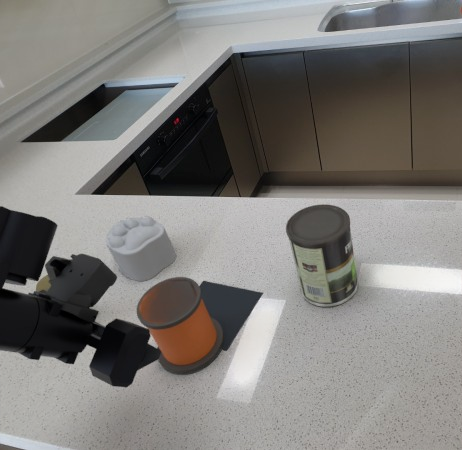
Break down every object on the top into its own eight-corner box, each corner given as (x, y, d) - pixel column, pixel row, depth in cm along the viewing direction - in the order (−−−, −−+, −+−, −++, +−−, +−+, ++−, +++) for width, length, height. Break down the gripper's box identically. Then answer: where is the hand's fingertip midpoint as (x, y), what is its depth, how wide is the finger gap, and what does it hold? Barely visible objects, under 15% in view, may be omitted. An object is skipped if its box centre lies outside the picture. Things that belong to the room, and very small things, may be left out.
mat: (226, 350, 74) (226, 350, 74) (162, 333, 79) (162, 333, 79) (262, 293, 83) (262, 292, 82) (203, 281, 88) (203, 280, 88)
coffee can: (355, 262, 85) (347, 200, 76) (360, 304, 77) (352, 239, 68) (300, 268, 86) (286, 208, 77) (300, 310, 78) (284, 247, 69)
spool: (179, 387, 70) (152, 342, 63) (147, 348, 77) (120, 304, 70) (237, 342, 74) (218, 296, 68) (202, 309, 82) (181, 264, 75)
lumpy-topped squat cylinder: (141, 286, 90) (123, 252, 85) (108, 263, 98) (90, 231, 92) (182, 255, 95) (168, 222, 90) (148, 235, 103) (133, 204, 98)
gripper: (110, 264, 43) (210, 300, 56) (8, 233, 53) (113, 270, 66) (60, 383, 41) (177, 392, 53) (-38, 328, 50) (81, 347, 63)
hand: (134, 344), depth 59 cm, fingers open, 9 cm apart
